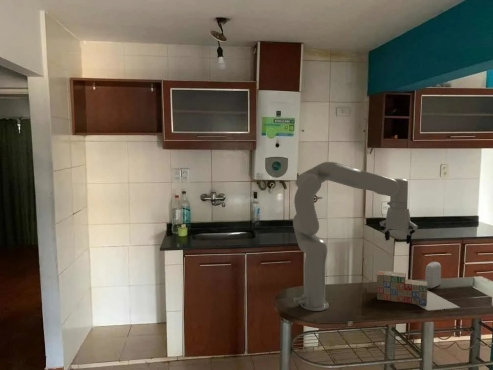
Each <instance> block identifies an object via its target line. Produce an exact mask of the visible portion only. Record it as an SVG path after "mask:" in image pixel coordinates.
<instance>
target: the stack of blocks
mask: <svg viewBox="0 0 493 370" xmlns="http://www.w3.org/2000/svg"><path fill="white" fill-rule="evenodd" d="M406 275H407V274H406V272H396V271H388V270H387V271H385V270H378V271H377V273H376V298H377V300H381V301H388V302H389V301H390V302H395V303H405V304H411V305H412V304H413V305H417V304H418V305H425V306H427V290H428V287H427V282H425V280H415V279H414V280H413V279H407V276H406ZM418 305H417V306H418Z"/></svg>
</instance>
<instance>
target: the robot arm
mask: <svg viewBox="0 0 493 370" xmlns="http://www.w3.org/2000/svg"><path fill="white" fill-rule="evenodd" d="M295 181H296V182H295V185H296V187H297V190H296V192H295V194H294V197H293V198H294V200H293V201H294V208H295V212H296V213H295V215H294V216H293V219H292V226H293V229H294V234H295V238H296V242H297V245H298V248H299V249H300V250H301V252H303V253H304V254H305V257H304V263H303V294H301V296H299V297H293V303H298V304H300V307H301V308H302V309H304V310H308V311H312V312H322V311H325V310H328V308H329V306H330V305H329V302H327V300H326V261H327V254H328V246H327V244H326V242H325V241H324V240H323V239H322V238H320V237H319V236H317V235H316V234H317V233H318V231H319V229H320V223H319V219H318V216H317V211H316V208H315V207H316V206H315V197H316V196H317V195H316V194H317V193H318V192H319V191H320V189H321V187H322V183H324V182H326V181H331V182H333V183H337V184H340V185H343V186H347V187H350V188H354V189H358V190H366V191H371V192H374V193H376V194H377V195H381V196H388V197H389V201H387V203H386V205H387V206H389V207H388V208H387V211H386V216H385V219H383V220H382V221H379V225H380V227H381V229H382V230H383V232H384V239H385V241H387V242H388V241H390V236H391V235H390V234H391V233H390V230H392V231H403V232H405V233H406V234H407V235H406V239H405V240H406V241H405V242H406V245H407V244H411V243H412V235H413V234H414V233H416V231H417V230H418V228H419V226H418V225H417V224H415V223H414V222H412V221H411V214H410V213H411V212H410V208H408V199H409V198H408V197H409V196H408V195H409V194H408V193H409V181H408V180H407V179H406V178H390V177H386V176H384V175H379V174H377V173H372V172H368V171H367V170H363V169H362V170H361V169H359V168H355V167H352V166H348V165H345V164H343V163H342V164H341V163H338V162H336V161H335V162H334V161H324V162H321V163H320V164H317V165H315V166H314V167H311V168H310V169H308V170H306V171H304V172H302V173H300V174H299V175H298V176H297V178H296V180H295ZM411 227H412V230H411Z"/></svg>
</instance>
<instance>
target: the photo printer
mask: <svg viewBox="0 0 493 370" xmlns="http://www.w3.org/2000/svg"><path fill="white" fill-rule="evenodd" d="M424 276H425V278H424V279H425V280H424V281H425V282H427V289H432V288H435V287H437V286H438V287H439V286H440V285H441V282H442V278H441V277H442V265H441V263H440V262H438V261H432V262H429V263H428V264H427V265H426V266H425V274H424Z"/></svg>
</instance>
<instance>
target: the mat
mask: <svg viewBox="0 0 493 370" xmlns="http://www.w3.org/2000/svg"><path fill="white" fill-rule="evenodd" d="M416 305H417V306H419V307H420V308H422V309H424V310H425V311H427V312H432V311H433V312H434V311H444V309H445V310H453V309H460V308H461V307H460V306H458V305H457V304H455V303H453V302H451V301H448V300H447V299H445V298H444V297H441V296H439V295H437V294H436V293H434V292H432V291H429V290H428V289H427V306H425V305H418V304H416Z"/></svg>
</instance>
